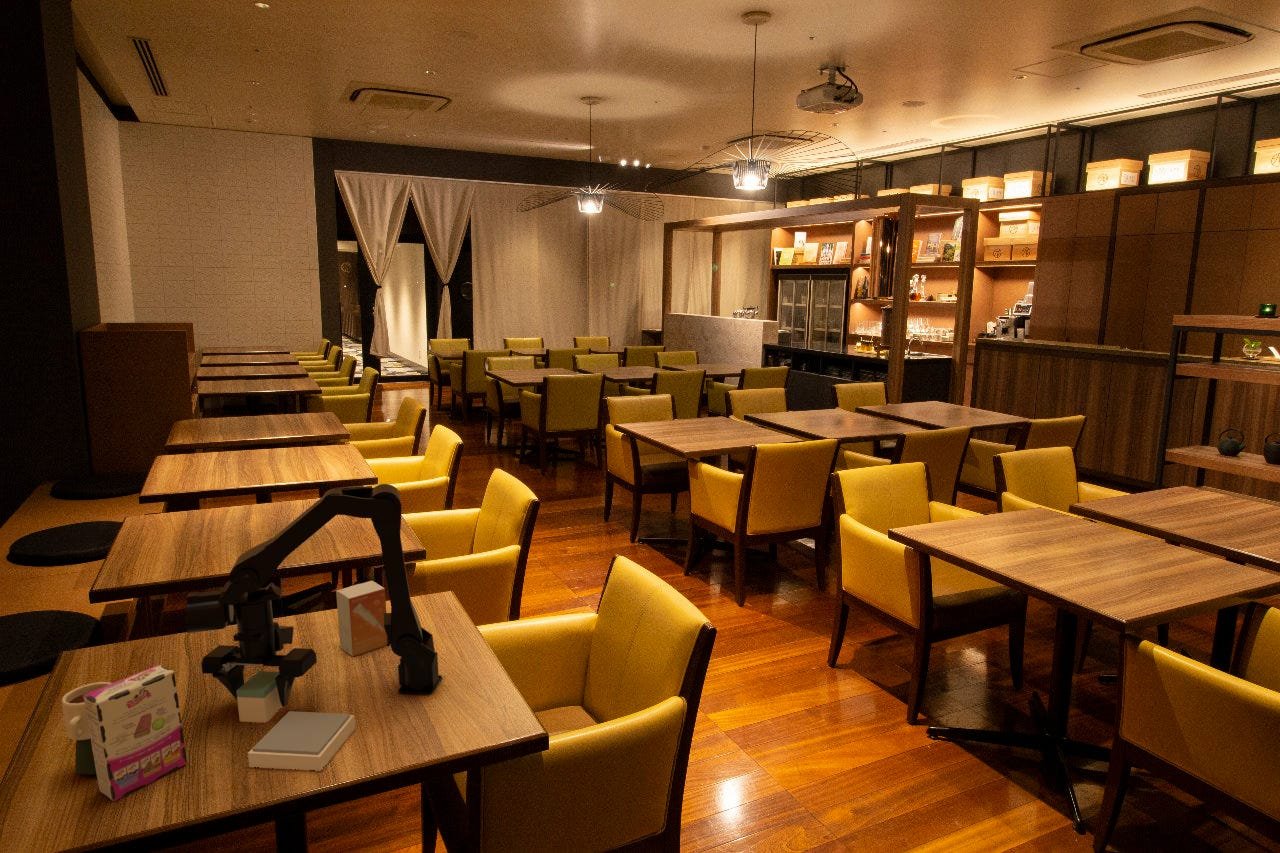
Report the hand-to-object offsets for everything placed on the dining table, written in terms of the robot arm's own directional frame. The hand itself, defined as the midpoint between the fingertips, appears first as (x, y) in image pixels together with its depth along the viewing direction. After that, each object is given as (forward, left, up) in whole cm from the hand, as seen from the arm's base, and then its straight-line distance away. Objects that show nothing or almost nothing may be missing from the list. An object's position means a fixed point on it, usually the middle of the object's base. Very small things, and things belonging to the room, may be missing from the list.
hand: (263, 704), depth 140 cm
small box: (-7, -26, -2) cm, 27 cm away
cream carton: (0, 0, -1) cm, 1 cm away
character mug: (+17, +18, -2) cm, 25 cm away
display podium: (-13, +10, -1) cm, 16 cm away
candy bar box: (+8, +20, -2) cm, 22 cm away
